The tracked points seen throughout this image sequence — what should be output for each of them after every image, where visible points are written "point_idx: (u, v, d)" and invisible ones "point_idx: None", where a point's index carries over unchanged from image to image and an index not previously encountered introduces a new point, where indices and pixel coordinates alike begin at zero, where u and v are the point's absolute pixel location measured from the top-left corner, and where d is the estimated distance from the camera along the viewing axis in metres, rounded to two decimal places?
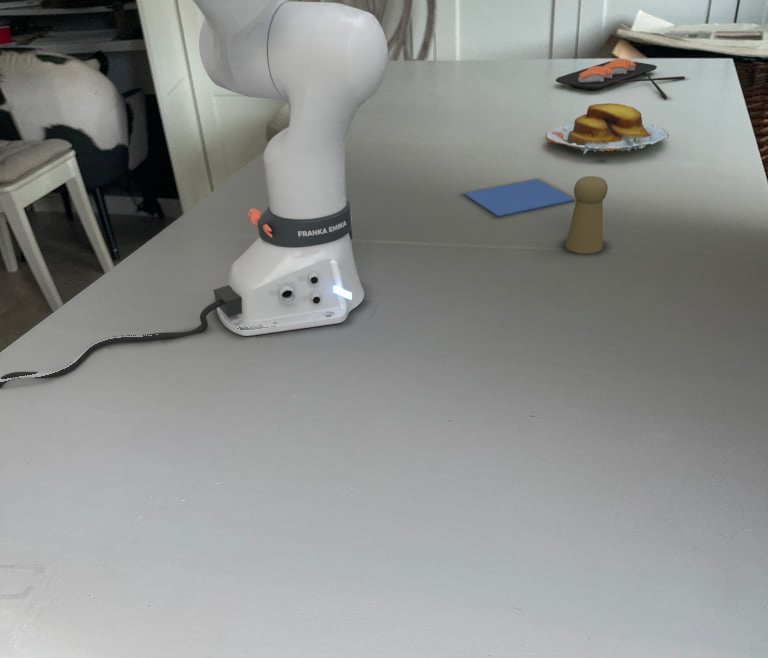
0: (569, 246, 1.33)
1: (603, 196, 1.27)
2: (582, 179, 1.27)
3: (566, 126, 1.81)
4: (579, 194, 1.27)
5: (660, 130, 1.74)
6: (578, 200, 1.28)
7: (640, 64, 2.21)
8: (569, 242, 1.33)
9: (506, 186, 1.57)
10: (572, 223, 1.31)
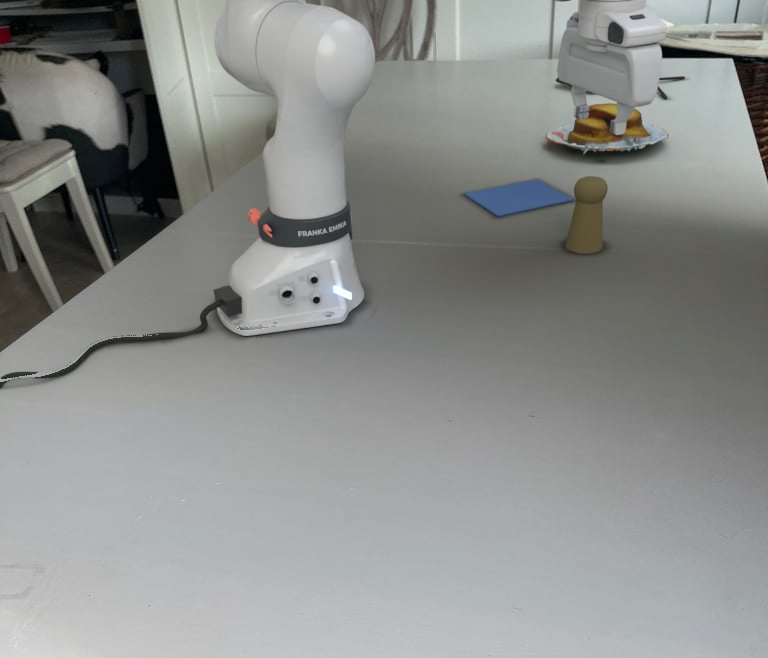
0: (569, 246, 1.33)
1: (603, 196, 1.27)
2: (582, 179, 1.27)
3: (566, 126, 1.81)
4: (579, 194, 1.27)
5: (660, 130, 1.74)
6: (578, 200, 1.28)
7: None
8: (569, 242, 1.33)
9: (506, 186, 1.57)
10: (572, 223, 1.31)
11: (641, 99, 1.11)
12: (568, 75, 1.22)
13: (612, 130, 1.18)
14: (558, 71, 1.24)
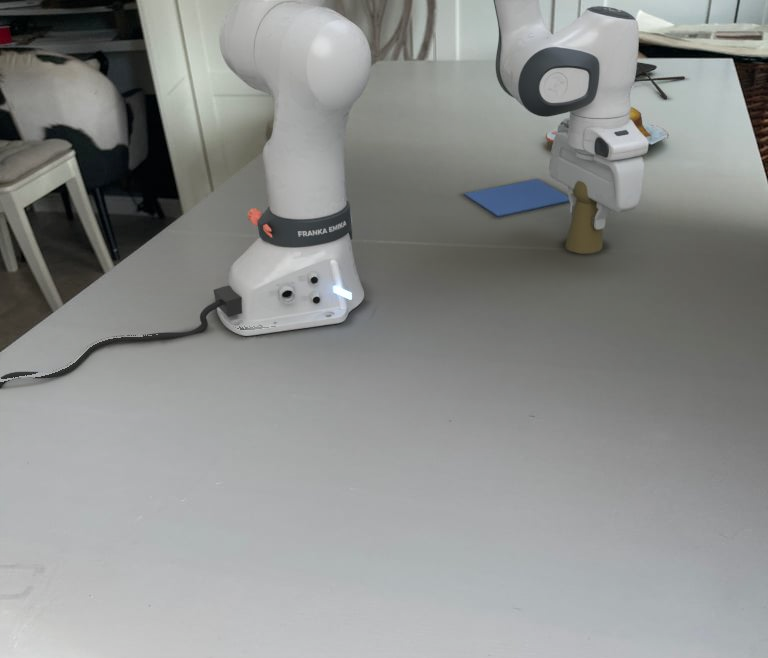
0: (569, 246, 1.33)
1: None
2: None
3: None
4: (579, 194, 1.27)
5: (660, 130, 1.74)
6: (578, 200, 1.28)
7: (640, 64, 2.21)
8: (569, 242, 1.33)
9: (506, 186, 1.57)
10: (572, 223, 1.31)
11: (625, 205, 1.20)
12: (559, 174, 1.32)
13: (593, 225, 1.29)
14: (550, 169, 1.34)
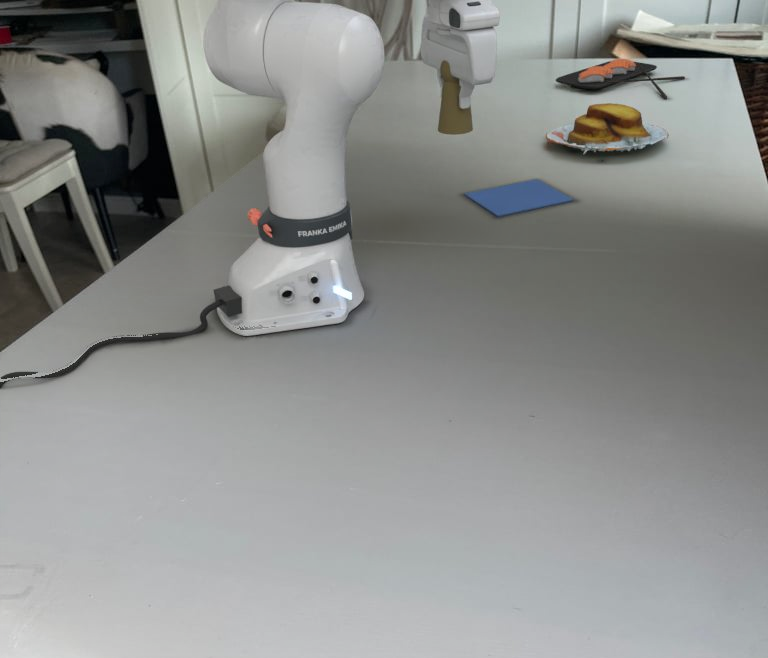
0: (440, 128, 1.37)
1: None
2: None
3: (566, 126, 1.81)
4: (444, 72, 1.31)
5: (660, 130, 1.74)
6: (444, 79, 1.32)
7: (640, 64, 2.21)
8: (440, 124, 1.37)
9: (506, 186, 1.57)
10: (441, 104, 1.35)
11: (480, 77, 1.24)
12: (428, 58, 1.36)
13: (458, 104, 1.33)
14: (421, 54, 1.38)
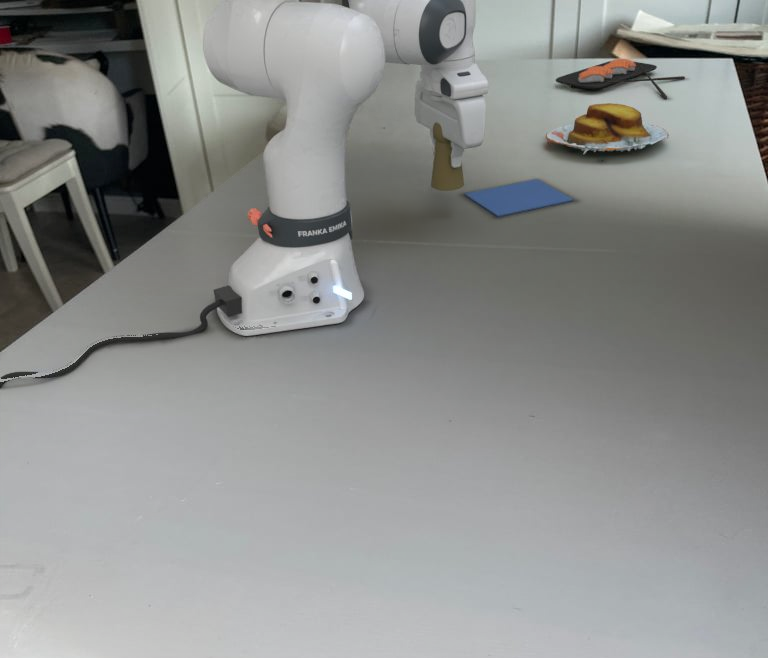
0: (433, 184, 1.44)
1: None
2: None
3: (566, 126, 1.81)
4: (436, 134, 1.38)
5: (660, 130, 1.74)
6: (436, 140, 1.40)
7: (640, 64, 2.21)
8: (432, 180, 1.44)
9: (506, 186, 1.57)
10: (434, 162, 1.42)
11: (470, 142, 1.31)
12: (422, 118, 1.43)
13: (450, 163, 1.40)
14: (415, 114, 1.45)
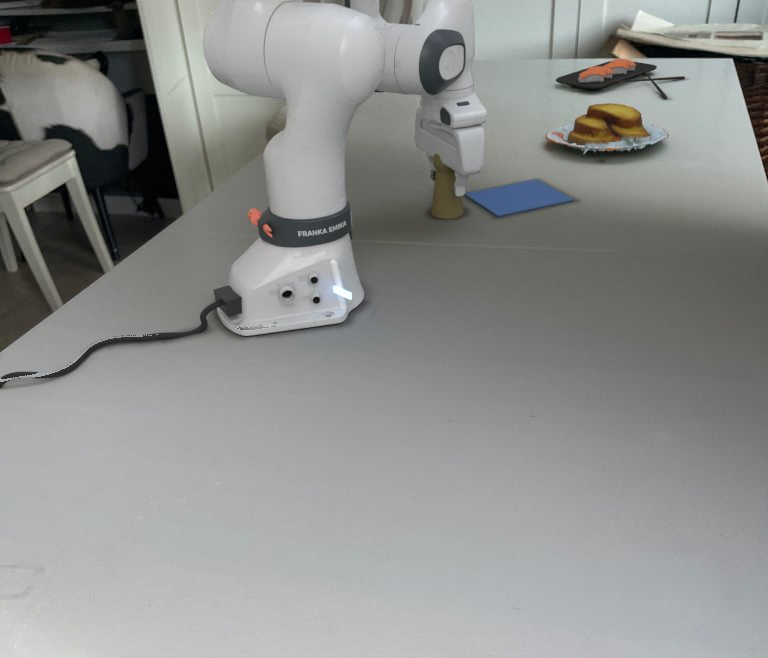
0: (433, 212, 1.47)
1: None
2: None
3: (566, 126, 1.81)
4: (436, 163, 1.41)
5: (660, 130, 1.74)
6: (436, 169, 1.43)
7: (640, 64, 2.21)
8: (433, 208, 1.47)
9: (506, 186, 1.57)
10: (434, 191, 1.46)
11: (469, 169, 1.34)
12: (421, 144, 1.46)
13: (454, 192, 1.41)
14: (415, 140, 1.48)
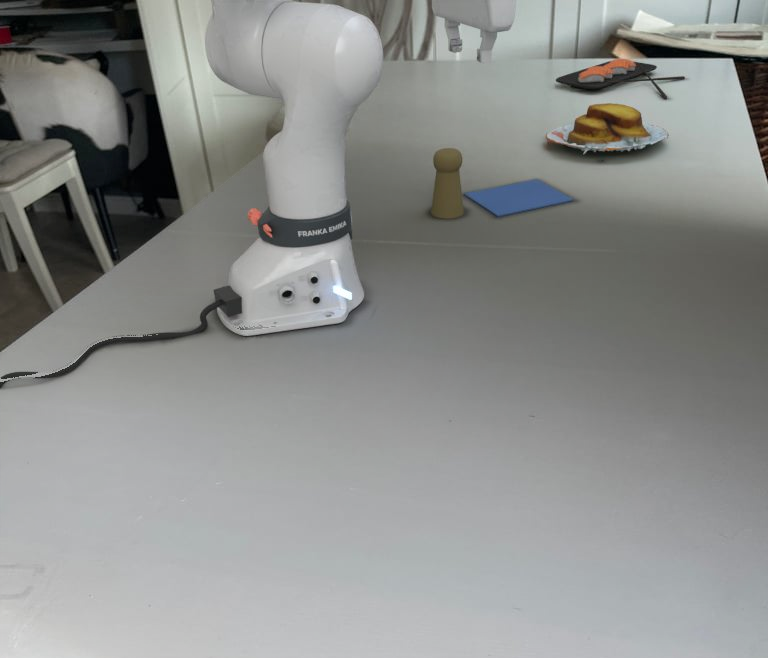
0: (433, 212, 1.47)
1: (458, 166, 1.41)
2: (439, 150, 1.42)
3: (566, 126, 1.81)
4: (436, 163, 1.41)
5: (660, 130, 1.74)
6: (436, 169, 1.43)
7: (640, 64, 2.21)
8: (433, 208, 1.47)
9: (506, 186, 1.57)
10: (434, 191, 1.46)
11: (499, 23, 1.16)
12: (440, 8, 1.27)
13: (478, 58, 1.23)
14: (432, 6, 1.29)
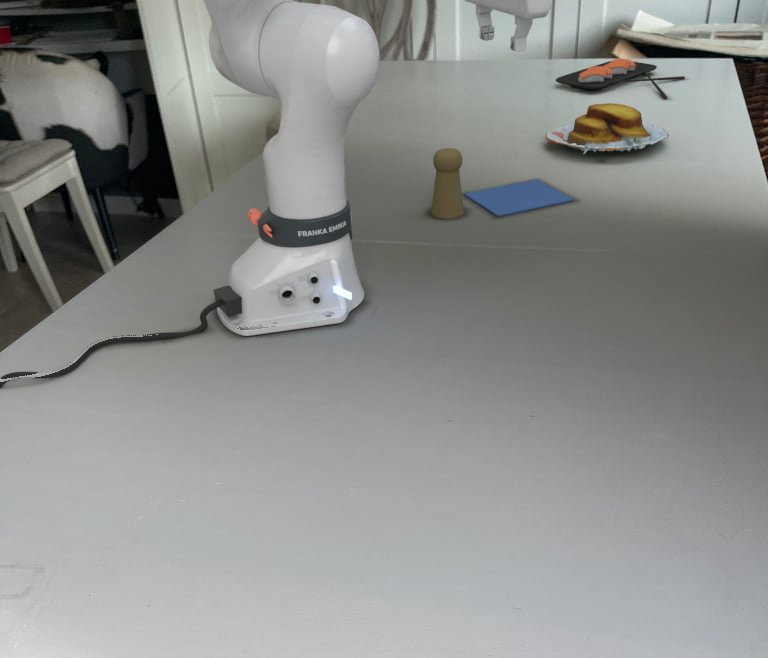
0: (433, 212, 1.47)
1: (458, 166, 1.41)
2: (439, 150, 1.42)
3: (566, 126, 1.81)
4: (436, 163, 1.41)
5: (660, 130, 1.74)
6: (436, 169, 1.43)
7: (640, 64, 2.21)
8: (433, 208, 1.47)
9: (506, 186, 1.57)
10: (434, 191, 1.46)
11: (535, 9, 1.09)
12: None
13: (512, 47, 1.16)
14: None
